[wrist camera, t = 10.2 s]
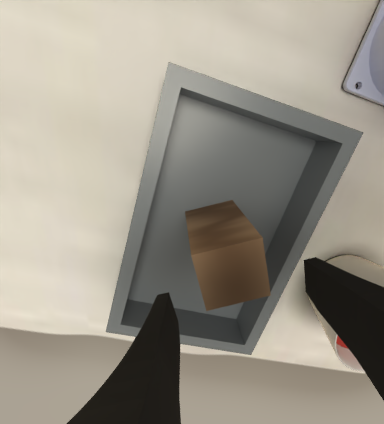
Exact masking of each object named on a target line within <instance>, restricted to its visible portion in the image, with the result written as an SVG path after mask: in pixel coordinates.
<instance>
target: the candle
mask: <svg viewBox="0 0 384 424" xmlns="http://www.w3.org/2000/svg"><path fill="white" fill-rule="evenodd" d="M326 262H327V263H329V264H331V265H334V266H336V267H338V268H340V269H342V270H344V271H347V272H349V273H351V274H353V275H355V276H358V277H360V278H362V279H365V280H367V281H370V282H372V283H375V284H377V285H380V286H382V287H384V267H382V266H380V265H378V264H376V263H373V262H371V261H369V260H366V259H364V258H361V257H358V256H354V255H342V256H338V257H335V258H332V259H330V260H328V261H326ZM308 298H309V300H310V303H311V305H312V307H313V309H314V311H315V313H316V315H317V317H318V319H319V321H320V323H321V325H322V327H323V329H324V331H325V333H326V335H327V337H328V339H329V341H330V343H331V345H332V347H333V349H334V351H335V353H336V355H337V357H338V359H339V360H340V361H341V362H342V363H343V364H344V365H345V366H346V367H348V368H350V369H352V370H355V371H358V372H364V373H365V371H364V370H363V368H362V367H361V365H360V364H359V362H358V361H357V359H356V358H355V357H354V355H353V354H352V353H351V351H350V350H349V349H348V347H347V346H346V345H345V344H344V342H343V341H342V340H341V339H340V337H339V336H338V335H337V334H336V332H335V331H334V330H333V329H332V328H331V326H330V325H329V324H328V323H327V321H326V320H325V319H324V318H323V316H322V315H321V314H320V313H319V311H318V310H317V309H316V307H315V306H314V304H313V302H312V301H311V299H310V297H309V296H308Z"/></svg>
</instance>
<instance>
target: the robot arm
mask: <svg viewBox="0 0 384 424" xmlns="http://www.w3.org/2000/svg"><path fill="white" fill-rule="evenodd" d="M356 83H357V84H358V88H357V89H356V88H355V84H356ZM343 88H344V90H345V91H347V92H350V93H352V94H355V95H357V96H360V97H362V98H365V99H367V100H370V101H372V102H375V103H378V104H380V105H383V106H384V0H381V1H380V3H379V5H378V7H377V10H376V12H375V14H374V16H373V18H372V21H371V23H370V25H369V27H368V30H367V32H366V34H365V36H364V38H363V41H362V43H361V45H360V47H359V49H358V52H357V54H356V56H355V58H354V61H353V63H352V65H351V67H350V69H349V72H348V74H347V76H346V78H345V81H344V83H343ZM304 270H305V285H306V293H307V294H308V296H309V297H310V299H311V301H312V302H313V304H314V306H315V307H316V309H317V310H318V311H319V313H320V314H321V315H322V316H323V318H324V319H325V320H326V321H327V323H328V324H329V325H330V326H331V328H332V329H333V330H334V331H335V332H336V334H337V335H338V336H339V337H340V339H341V340H342V341H343V342H344V344H345V345H346V346H347V347H348V349H349V350H350V351H351V353H352V354H353V355H354V357H355V358H356V359H357V361H358V362H359V364H360V365H361V367H362V368H363V370H364V371H365V373H366V374H367V376H368V377H369V378H370V380H371V381H372V383H373V385H374V386H375V388H376V389H377V391H378V392H379V394H380V396H381V397H382V398H383V400H384V287H382V286H380V285H377V284H375V283H372V282H370V281H367V280H365V279H362V278H360V277H358V276H355V275H353V274H351V273H349V272H347V271H344V270H342V269H340V268H338V267H336V266H334V265H331V264H329V263H327V262H325V261H323V260H320V259H318V258H316V257H315V258H311V259H307V260H304ZM179 371H180V333H179V323H178V319H177V316H176V313H175V310H174V306H173V303H172V300H171V297H170V294H169V292H168V293H163V294H159V295H157V297H156V298H155V301H154V303H153V305H152V307H151V310H150V312H149V314H148V316H147V318H146V320H145V322H144V324H143V326H142V328H141V329H140V331H139V333H138V335H137V336H136V338H135V340H134V342H133V343H132V345H131V347H130V348H129V350H128V351H127V353H126V354H125V356H124V357H123V359H122V361H121V362H120V363H119V365H118V366H117V367H116V369H115V370H114V371H113V373H112V374H111V375H110V376H109V378H108V379H107V380H106V382H105V383H104V384H103V385H102V386H101V388H100V389H99V390H98V391H97V392H96V394H95V395H94V396H93V397H92V398H91V399H90V400H89V401H88V402H87V404H86V405H85V406H84V407H83V408H82V409H81V410H80V411H79V412H78V413H77V414H76V415H75V416H74V417H73V418H72V419H71V420H70V421H69V422H68V423H67V424H181V419H180V403H179V374H180V373H179Z"/></svg>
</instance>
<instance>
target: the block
mask: <svg viewBox="0 0 384 424" xmlns="http://www.w3.org/2000/svg"><path fill="white" fill-rule="evenodd" d="M185 216H186V223H187V230H188V237H189V244H190V251H191V257H192V260H193V264H194V267H195V271H196V275H197V278H198V282H199V286H200V289H201V293H202V297H203V300H204V304H205V308H206V311H209V310H213V309H217V308H221V307H226V306H230V305H234V304H238V303H242V302H246V301H250V300H254V299H258V298H262V297H266V296H270V295H271V293H270V286H269V279H268V272H267V265H266V258H265V251H264V244H263V238H262V236H261V235H260V234H259V233H258V231H257V230H256V229H255V228H254V226H253V225H252V224H251V223H250V221H249V220H248V219H247V218H246V216H245V215H244V214H243V213H242V211H241V210H240V209H239V208H238V206H237V205H236V204H235V203H234V201H233V200H229V201H225V202H221V203H217V204H213V205H209V206H205V207H201V208H197V209H193V210H189V211H185Z"/></svg>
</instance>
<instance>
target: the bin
mask: <svg viewBox="0 0 384 424" xmlns="http://www.w3.org/2000/svg"><path fill="white" fill-rule="evenodd" d="M362 135H363V132H360V131H358V130H355V129H352V128H349V127H347V126H344V125H341V124H338V123H336V122H333V121H330V120H327V119H325V118H322V117H319V116H316V115H314V114H311V113H308V112H305V111H303V110H300V109H297V108H294V107H292V106H289V105H286V104H283V103H281V102H278V101H275V100H272V99H270V98H267V97H264V96H261V95H258V94H256V93H253V92H250V91H247V90H245V89H242V88H239V87H236V86H234V85H231V84H228V83H225V82H223V81H220V80H217V79H214V78H212V77H209V76H206V75H203V74H201V73H198V72H195V71H192V70H190V69H187V68H184V67H181V66H179V65H176V64H173V63H170V62H169V63H168V67H167V71H166V75H165V80H164V84H163V88H162V93H161V97H160V101H159V106H158V110H157V114H156V118H155V123H154V127H153V131H152V136H151V140H150V144H149V148H148V153H147V157H146V161H145V166H144V170H143V174H142V178H141V183H140V187H139V191H138V196H137V200H136V204H135V208H134V213H133V217H132V221H131V226H130V230H129V234H128V239H127V243H126V247H125V251H124V256H123V260H122V264H121V269H120V273H119V277H118V281H117V286H116V290H115V294H114V299H113V303H112V307H111V311H110V316H109V320H108V324H107V329H106V332H109V333H115V334H122V335H128V336H134V337H136V336H137V335H138V333H139V331H140V329H141V328H142V326H143V324H144V322H145V320H146V318H147V316H148V314H149V312H150V310H151V307H152V305H153V303H154V301H155V298H156V297H157V295H159V294H163V293H168V292H169V294H170V297H171V300H172V303H173V306H174V310H175V313H176V316H177V319H178V323H179V333H180V344H185V345H191V346H198V347H204V348H210V349H217V350H223V351H229V352H236V353H242V354H248V355H251V354H252V352H253V350H254V348H255V346H256V344H257V342H258V340H259V338H260V336H261V334H262V332H263V330H264V328H265V326H266V324H267V322H268V320H269V318H270V316H271V314H272V312H273V310H274V308H275V307H276V305H277V303H278V301H279V299H280V297H281V295H282V293H283V291H284V289H285V287H286V285H287V283H288V281H289V279H290V277H291V275H292V273H293V271H294V269H295V267H296V265H297V263H298V261H299V259H300V257H301V255H302V253H303V251H304V249H305V247H306V245H307V243H308V241H309V239H310V237H311V235H312V233H313V231H314V229H315V227H316V225H317V223H318V221H319V220H320V218H321V216H322V214H323V212H324V210H325V208H326V206H327V204H328V202H329V200H330V198H331V196H332V194H333V192H334V190H335V188H336V186H337V184H338V182H339V180H340V178H341V176H342V174H343V172H344V170H345V168H346V166H347V164H348V162H349V160H350V158H351V156H352V154H353V152H354V150H355V148H356V146H357V144H358V142H359V140H360V138H361V136H362ZM229 200H233V201H234V203H235V204H236V205H237V206H238V208H239V209H240V210H241V211H242V213H243V214H244V215H245V216H246V218H247V219H248V220H249V221H250V223H251V224H252V225H253V226H254V228H255V229H256V230H257V231H258V233H259V234H260V235H261V236H262V238H263V244H264V251H265V258H266V265H267V272H268V279H269V286H270V293H271V295H270V296H266V297H262V298H258V299H254V300H250V301H246V302H242V303H238V304H234V305H230V306H226V307H221V308H217V309H213V310H209V311H206V308H205V304H204V300H203V297H202V293H201V289H200V286H199V282H198V278H197V275H196V271H195V267H194V264H193V260H192V257H191V251H190V244H189V237H188V230H187V223H186V216H185V211H189V210H193V209H197V208H201V207H205V206H209V205H213V204H217V203H221V202H225V201H229Z"/></svg>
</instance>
